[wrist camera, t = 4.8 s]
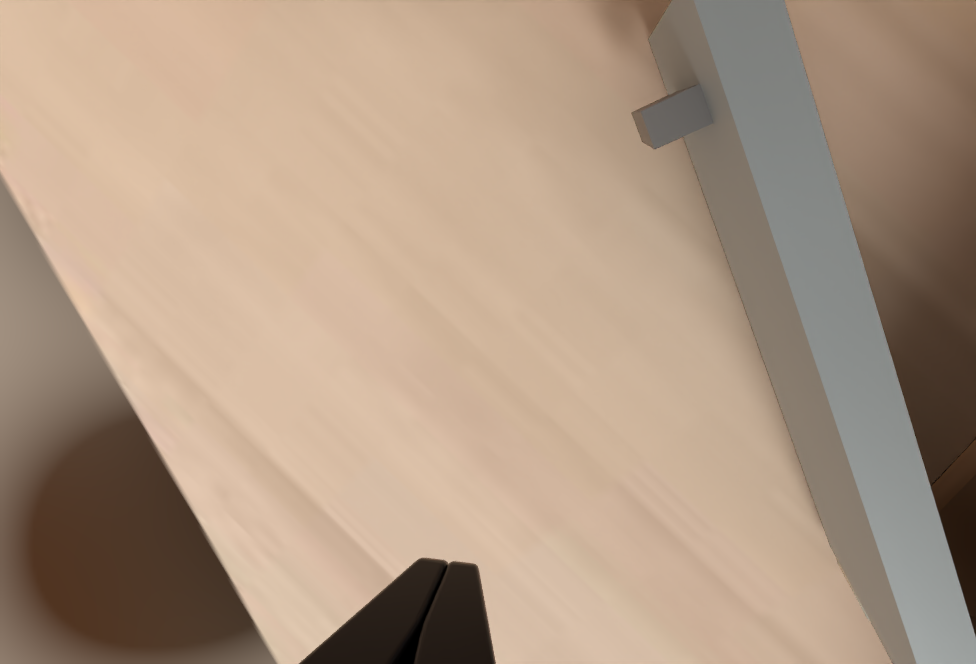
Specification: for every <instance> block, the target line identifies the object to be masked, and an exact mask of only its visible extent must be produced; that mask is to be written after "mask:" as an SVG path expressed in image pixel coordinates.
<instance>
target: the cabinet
mask: <svg viewBox="0 0 976 664" xmlns="http://www.w3.org/2000/svg"><path fill="white" fill-rule="evenodd" d="M931 490H932V493H933V497H934V500H935V503H936V507H937V510H938V513H939V516H940V520H941V523H942V526H943V530H944V533H945V536H946V540H947V543H948V546H949V550H950V553H951V556H952V560H953V563H954V566H955V570H956V573H957V576H958V580H959V583H960V586H961V590H962V593H963V596H964V600H965V603H966V606H967V610H968V613H969V616H970V619H971V623H972V626H973V629H974V633H975V636H976V439H975V440H974V441H973V442H972V443H971V445H970V446H969V447H968V448H967V449H966V450H965V451H964V452H963V453H962V454H961V455H960V456H959V457H958V458H957V459H956V461H955V462H954V463H953V464H952V465H951V466H950V467H949V468H948V469H947V470H946V471H945V472H944V473H943V474H942V475H941V477H940V478H939V479H938V480H937V481H936V482H935V483H934V484H933V485H932V486H931Z"/></svg>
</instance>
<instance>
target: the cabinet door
mask: <svg viewBox="0 0 976 664" xmlns="http://www.w3.org/2000/svg"><path fill="white" fill-rule="evenodd" d="M648 40H649V43H650V46H651V49H652V51H653V54H654V57H655V60H656V63H657V65H658V68H659V71H660V74H661V76H662V79H663V82H664V85H665V88H666V90H667V93H668V96H666V97H664V98H661V99H659V100H657V101H655V102H653V103H651V104H649V105H647V106H644V107H642V108H640V109H638V110H636V111H634V112H632V116H633V118H634V121H635V124H636V126H637V129H638V132H639V134H640V137H641V140H642V142H643V143H645V144H647V145H648V146H650V147H652V148H653V149H657V148H659V147H661V146H663V145H665V144H668V143H670V142H672V141H674V140H677V139H679V138H681V137H683V138H684V141H685V143H686V146H687V149H688V152H689V154H690V157H691V160H692V163H693V166H694V168H695V171H696V174H697V177H698V180H699V182H700V185H701V188H702V191H703V193H704V196H705V199H706V202H707V205H708V207H709V210H710V213H711V216H712V219H713V221H714V224H715V227H716V230H717V232H718V235H719V238H720V241H721V244H722V246H723V249H724V252H725V255H726V258H727V260H728V263H729V266H730V269H731V271H732V274H733V277H734V280H735V283H736V285H737V288H738V291H739V294H740V297H741V299H742V302H743V305H744V308H745V310H746V313H747V316H748V319H749V322H750V324H751V327H752V330H753V333H754V336H755V338H756V341H757V344H758V347H759V349H760V352H761V355H762V358H763V361H764V363H765V366H766V369H767V372H768V375H769V377H770V380H771V383H772V386H773V388H774V391H775V394H776V397H777V400H778V402H779V405H780V408H781V411H782V414H783V416H784V419H785V422H786V425H787V427H788V430H789V433H790V436H791V439H792V441H793V444H794V447H795V450H796V452H797V455H798V458H799V461H800V464H801V466H802V469H803V472H804V475H805V478H806V480H807V483H808V486H809V489H810V491H811V494H812V497H813V500H814V503H815V505H816V508H817V511H818V514H819V517H820V519H821V522H822V525H823V528H824V530H825V533H826V536H827V539H828V542H829V544H830V547H831V549H832V550H833V552H834V554H835V556H836V558H837V562H838V564H839V566H840V568H841V570H842V572H843V574H844V575H845V577H846V579H847V581H848V583H849V585H850V587H851V589H852V591H853V592H854V594H855V596H856V598H857V600H858V602H859V604H860V606H861V608H862V609H863V611H864V613H865V615H866V617H867V618H868V620H869V621H870V622H871V624H872V625H873V627H874V629H875V631H876V633H877V635H878V637H879V639H880V640H881V642H882V644H883V646H884V648H885V650H886V652H887V654H888V655H889V657H890V659H891V661H892V663H893V664H976V636H975V633H974V629H973V626H972V623H971V619H970V616H969V613H968V610H967V606H966V603H965V600H964V596H963V593H962V590H961V586H960V583H959V580H958V576H957V573H956V570H955V566H954V563H953V560H952V556H951V553H950V550H949V546H948V543H947V540H946V536H945V533H944V530H943V526H942V523H941V520H940V516H939V513H938V510H937V507H936V503H935V500H934V497H933V493H932V490H931V487H930V483H929V480H928V477H927V473H926V470H925V467H924V463H923V460H922V457H921V453H920V450H919V447H918V443H917V440H916V437H915V433H914V430H913V427H912V423H911V420H910V417H909V413H908V410H907V407H906V404H905V400H904V397H903V394H902V390H901V387H900V384H899V380H898V377H897V374H896V370H895V367H894V364H893V360H892V357H891V354H890V350H889V347H888V344H887V340H886V337H885V334H884V330H883V327H882V324H881V320H880V317H879V314H878V310H877V307H876V304H875V301H874V297H873V294H872V291H871V287H870V284H869V281H868V277H867V274H866V271H865V267H864V264H863V261H862V257H861V254H860V251H859V247H858V244H857V241H856V237H855V234H854V231H853V227H852V224H851V221H850V217H849V214H848V211H847V207H846V204H845V201H844V198H843V194H842V191H841V188H840V184H839V181H838V178H837V174H836V171H835V168H834V164H833V161H832V158H831V154H830V151H829V148H828V144H827V141H826V138H825V134H824V131H823V128H822V124H821V121H820V118H819V114H818V111H817V108H816V104H815V101H814V98H813V95H812V91H811V88H810V85H809V81H808V78H807V75H806V71H805V68H804V65H803V61H802V58H801V55H800V51H799V48H798V45H797V41H796V38H795V35H794V31H793V28H792V25H791V21H790V18H789V15H788V11H787V8H786V5H785V2H784V0H672V1H671V3H670V4H669V6H668V8H667V9H666V11H665V12H664V14H663V16H662V17H661V19H660V21H659V22H658V24H657V26H656V27H655V29H654V31H653V32H652V34H651V36H650V37H649V39H648Z"/></svg>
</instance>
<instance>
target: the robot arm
mask: <svg viewBox="0 0 976 664" xmlns="http://www.w3.org/2000/svg"><path fill="white" fill-rule="evenodd" d="M299 664H496V662H495V656H494V651H493V645H492V640H491V634H490V629H489V623H488V618H487V612H486V607H485V601H484V596H483V590H482V585H481V579H480V574H479V569H478V566H477V565H476V564H473V563H465V562H456V561H453V562H451V563H449V564H448V563H447V562H446V561H445V560H440V559H431V558H420V559H418V560H417V561H416V562H414V563H413V564H412V565H411V566H410V567H409V568H408V569H406V570H405V571H404V572H403V573H402V574H401V575H400V576H398V577H397V578H396V579H395V580H394V581H393V582H392V583H390V584H389V585H388V586H387V587H386V588H385V589H384V590H382V591H381V592H380V593H379V594H378V595H377V596H376V597H374V598H373V599H372V600H371V601H370V602H369V603H368V604H366V605H365V606H364V607H363V608H362V609H361V610H360V611H358V612H357V613H356V614H355V615H354V616H353V617H352V618H350V619H349V620H348V621H347V622H346V623H345V624H344V625H342V626H341V627H340V628H339V629H338V630H337V631H336V632H334V633H333V634H332V635H331V636H330V637H329V638H328V639H326V640H325V641H324V642H323V643H322V644H321V645H320V646H318V647H317V648H316V649H315V650H314V651H313V652H312V653H310V654H309V655H308V656H307V657H306V658H305V659H304V660H302V661H301V662H300V663H299Z"/></svg>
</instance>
